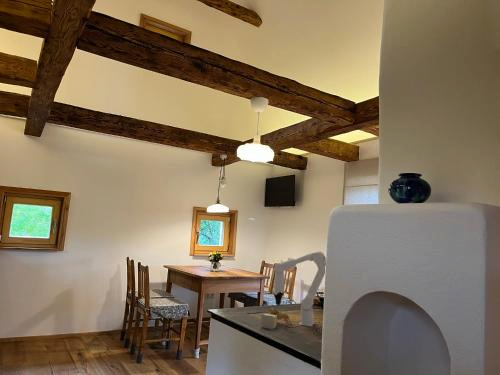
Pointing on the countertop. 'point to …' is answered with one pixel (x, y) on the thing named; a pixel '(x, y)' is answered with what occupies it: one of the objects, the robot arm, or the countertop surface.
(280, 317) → the lion figurine
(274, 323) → the book row
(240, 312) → the countertop surface
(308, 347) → the countertop surface
